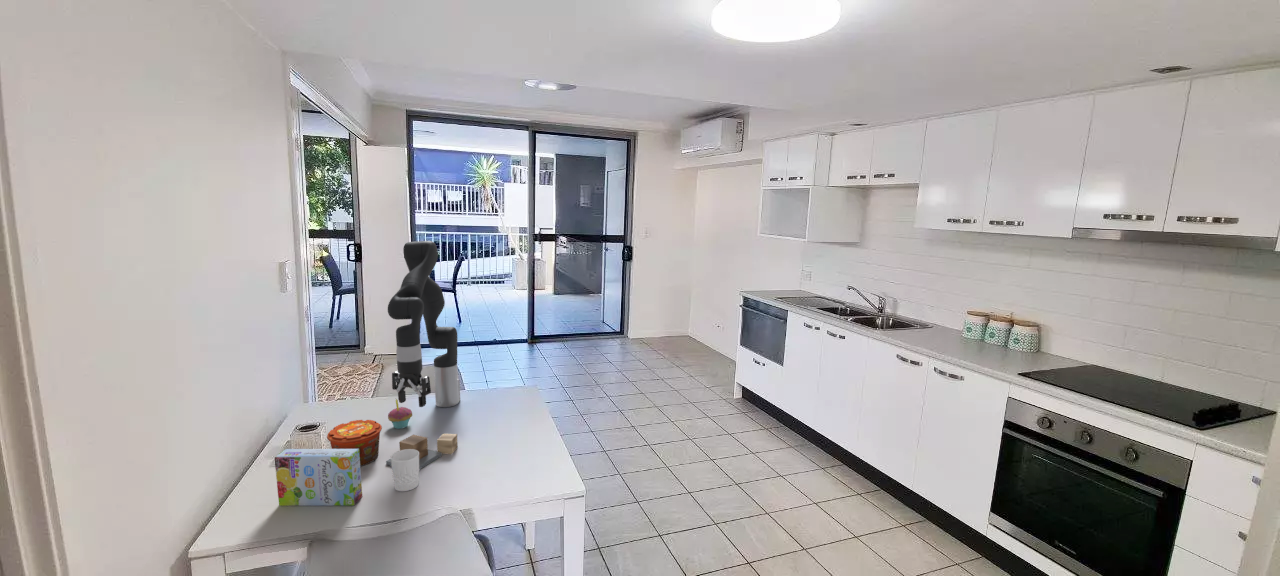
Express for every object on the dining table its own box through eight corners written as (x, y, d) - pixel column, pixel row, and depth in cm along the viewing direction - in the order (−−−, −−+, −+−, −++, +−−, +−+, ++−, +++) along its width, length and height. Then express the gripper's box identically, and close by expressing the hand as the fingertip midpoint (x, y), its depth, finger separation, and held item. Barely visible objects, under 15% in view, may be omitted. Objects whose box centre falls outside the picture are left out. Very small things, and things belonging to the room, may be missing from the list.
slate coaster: (414, 448, 185) (414, 445, 185) (441, 455, 180) (441, 452, 180) (386, 464, 174) (386, 461, 174) (414, 472, 170) (414, 468, 169)
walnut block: (414, 451, 181) (413, 434, 180) (428, 454, 179) (427, 437, 178) (400, 458, 175) (399, 441, 174) (414, 462, 173) (413, 445, 172)
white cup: (412, 476, 167) (411, 446, 165) (425, 485, 162) (424, 454, 161) (387, 486, 161) (385, 455, 159) (400, 495, 156) (398, 464, 155)
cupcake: (406, 431, 199) (404, 400, 197) (384, 430, 199) (381, 400, 197) (416, 421, 207) (414, 392, 205) (395, 421, 207) (393, 391, 205)
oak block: (443, 447, 187) (442, 433, 186) (457, 447, 187) (457, 434, 186) (437, 453, 182) (437, 440, 181) (452, 454, 182) (451, 440, 181)
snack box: (363, 495, 156) (360, 447, 153) (354, 506, 150) (350, 457, 148) (289, 495, 155) (284, 447, 153) (277, 506, 150) (272, 456, 147)
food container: (361, 473, 168) (358, 441, 167) (317, 467, 171) (314, 436, 170) (393, 450, 184) (392, 421, 182) (353, 445, 187) (351, 416, 185)
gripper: (434, 357, 175) (437, 403, 178) (401, 351, 180) (404, 396, 183) (417, 363, 168) (420, 412, 171) (383, 357, 173) (387, 404, 176)
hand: (412, 404), depth 177 cm, fingers open, 8 cm apart
